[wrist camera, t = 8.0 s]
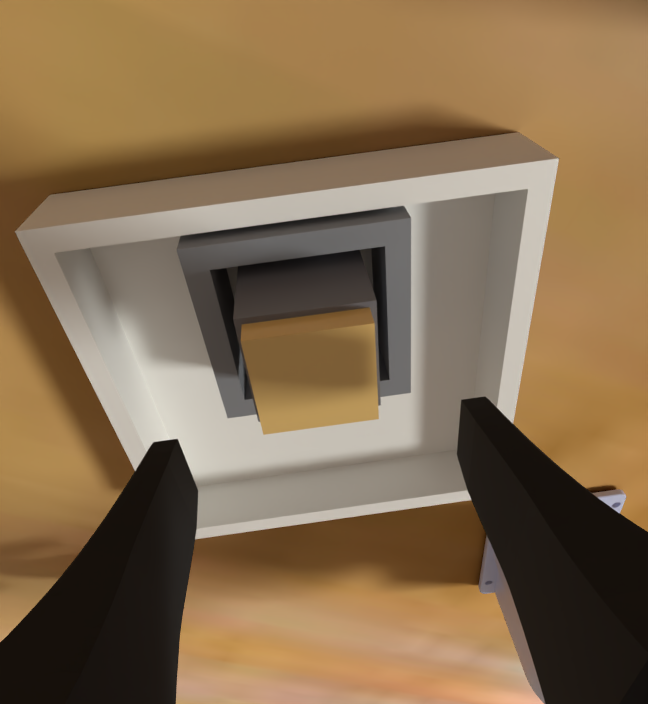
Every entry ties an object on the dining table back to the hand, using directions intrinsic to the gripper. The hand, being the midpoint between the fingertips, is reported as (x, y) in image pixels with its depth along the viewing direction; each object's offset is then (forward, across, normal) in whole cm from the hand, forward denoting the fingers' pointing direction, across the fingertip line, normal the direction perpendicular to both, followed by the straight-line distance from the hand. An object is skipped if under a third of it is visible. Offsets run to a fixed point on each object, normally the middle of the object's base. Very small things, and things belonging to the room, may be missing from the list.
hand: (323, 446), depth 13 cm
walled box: (+9, 0, +3) cm, 9 cm away
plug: (+8, 0, 0) cm, 8 cm away
